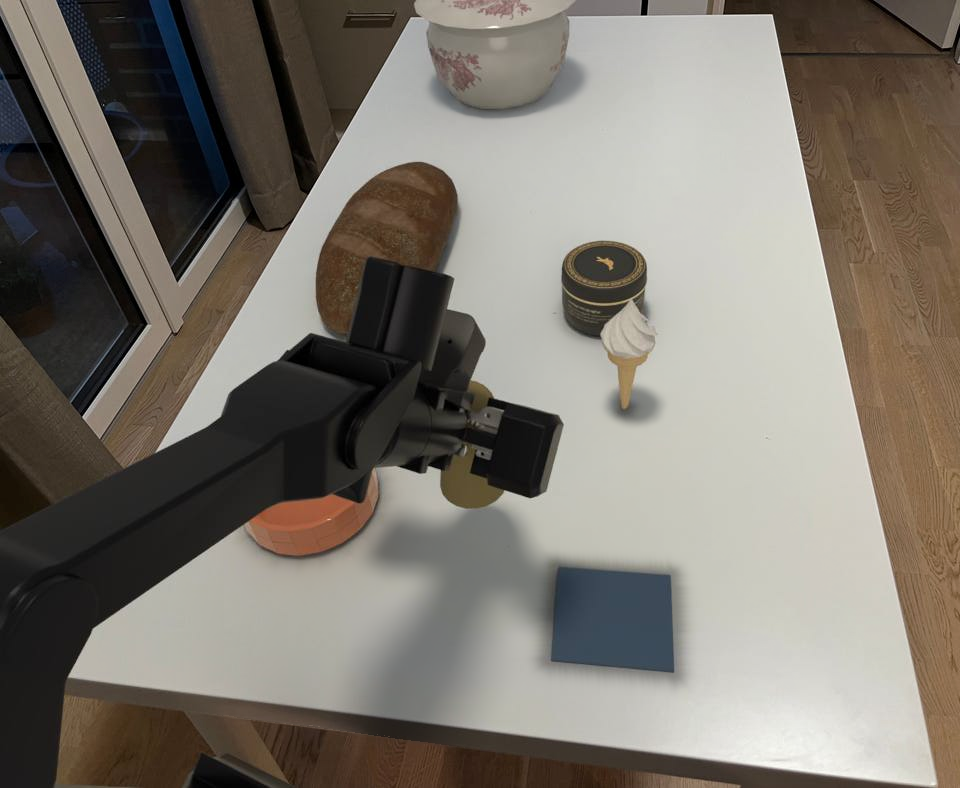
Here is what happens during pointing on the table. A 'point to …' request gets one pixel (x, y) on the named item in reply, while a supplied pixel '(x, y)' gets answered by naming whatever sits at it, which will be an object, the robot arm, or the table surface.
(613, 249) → the jar
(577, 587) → the mat
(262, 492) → the robot arm
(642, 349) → the ice cream cone
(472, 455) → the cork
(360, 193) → the bread
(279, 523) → the bowl
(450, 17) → the chamber pot
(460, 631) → the table surface
